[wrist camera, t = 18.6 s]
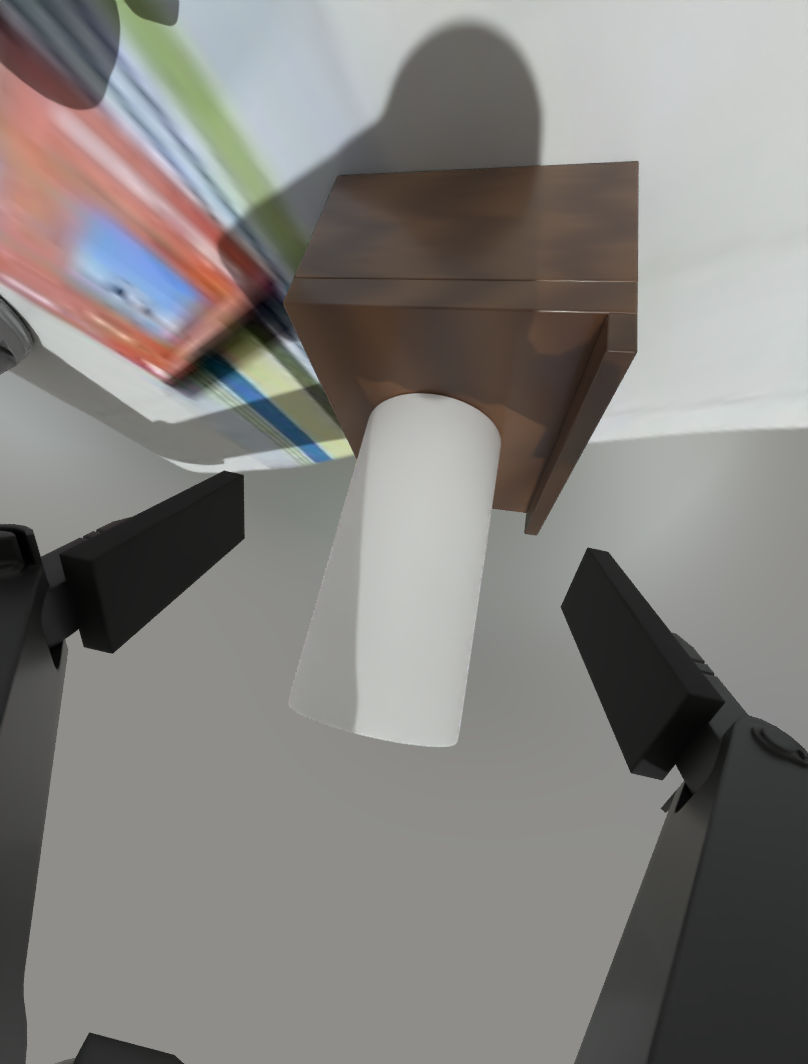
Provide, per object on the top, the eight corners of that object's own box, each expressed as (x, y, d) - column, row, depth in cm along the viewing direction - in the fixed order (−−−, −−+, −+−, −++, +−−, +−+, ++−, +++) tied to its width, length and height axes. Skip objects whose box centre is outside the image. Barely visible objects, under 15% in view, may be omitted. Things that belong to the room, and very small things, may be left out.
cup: (518, 406, 19) (470, 762, 14) (486, 481, 27) (448, 727, 22) (360, 381, 20) (259, 710, 14) (374, 461, 27) (311, 694, 22)
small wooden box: (394, 408, 36) (367, 511, 32) (337, 174, 19) (268, 335, 16) (548, 421, 33) (537, 535, 29) (639, 160, 16) (638, 351, 13)
